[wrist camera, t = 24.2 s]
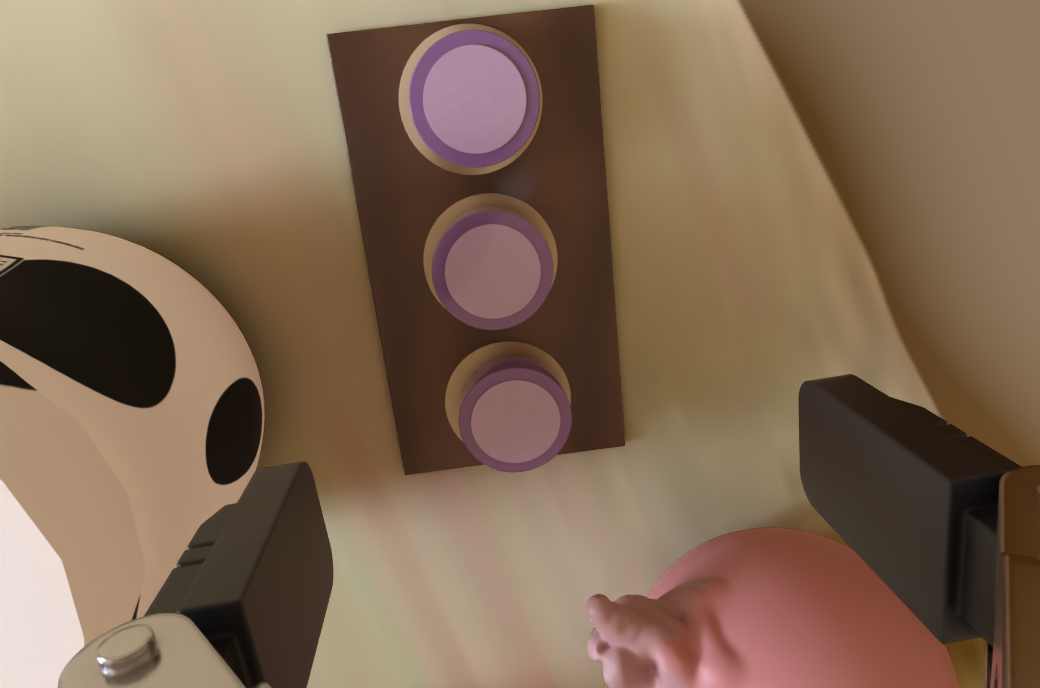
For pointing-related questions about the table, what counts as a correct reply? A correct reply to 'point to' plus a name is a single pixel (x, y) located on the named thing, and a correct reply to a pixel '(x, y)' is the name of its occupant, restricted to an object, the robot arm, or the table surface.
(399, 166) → the brown board with circles
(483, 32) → the purple stepped cylinder
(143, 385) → the white black spotted canister
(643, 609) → the pink piggy bank
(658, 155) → the table surface
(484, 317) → the dish bottom
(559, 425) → the dish top
